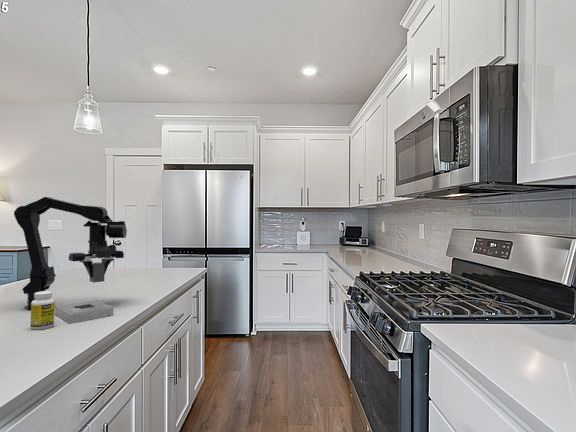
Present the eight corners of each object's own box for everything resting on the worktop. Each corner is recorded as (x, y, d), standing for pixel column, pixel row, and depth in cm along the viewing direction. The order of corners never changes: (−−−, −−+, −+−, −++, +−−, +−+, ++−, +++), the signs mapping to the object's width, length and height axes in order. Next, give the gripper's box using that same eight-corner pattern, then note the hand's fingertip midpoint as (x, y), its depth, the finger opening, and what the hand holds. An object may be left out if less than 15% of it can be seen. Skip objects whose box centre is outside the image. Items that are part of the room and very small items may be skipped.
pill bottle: (42, 330, 109) (42, 295, 109) (25, 329, 111) (26, 293, 111) (58, 325, 115) (59, 291, 115) (42, 323, 117) (43, 290, 117)
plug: (89, 281, 141) (89, 262, 141) (100, 280, 144) (100, 262, 144) (93, 282, 138) (93, 263, 138) (104, 281, 141) (104, 262, 141)
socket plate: (54, 314, 128) (55, 303, 128) (96, 307, 138) (96, 297, 138) (69, 323, 117) (69, 312, 117) (113, 315, 127) (113, 304, 127)
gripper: (78, 239, 129) (77, 283, 128) (130, 238, 142) (129, 277, 142) (68, 238, 136) (67, 279, 136) (118, 237, 150) (117, 273, 150)
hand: (97, 277), depth 141 cm, fingers closed on plug, 4 cm apart
